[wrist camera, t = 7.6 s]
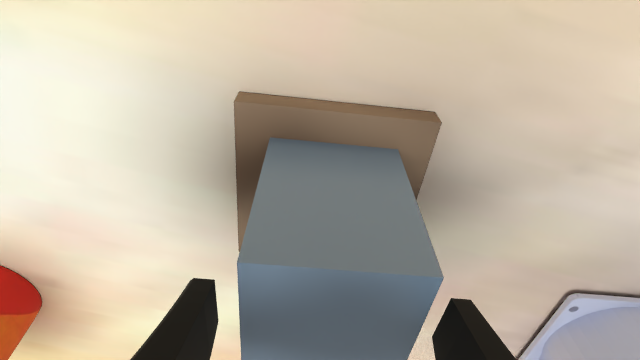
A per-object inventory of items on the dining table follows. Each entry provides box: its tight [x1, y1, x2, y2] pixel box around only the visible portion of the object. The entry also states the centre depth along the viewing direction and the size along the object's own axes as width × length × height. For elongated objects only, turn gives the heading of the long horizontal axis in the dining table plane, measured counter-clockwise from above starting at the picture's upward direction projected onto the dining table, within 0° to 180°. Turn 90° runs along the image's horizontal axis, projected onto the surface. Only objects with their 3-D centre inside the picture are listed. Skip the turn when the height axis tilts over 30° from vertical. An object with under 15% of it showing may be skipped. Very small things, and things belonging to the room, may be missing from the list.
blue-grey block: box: [237, 138, 444, 360], centre depth 13 cm, size 5×5×7 cm
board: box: [234, 92, 442, 252], centre depth 16 cm, size 8×8×1 cm
